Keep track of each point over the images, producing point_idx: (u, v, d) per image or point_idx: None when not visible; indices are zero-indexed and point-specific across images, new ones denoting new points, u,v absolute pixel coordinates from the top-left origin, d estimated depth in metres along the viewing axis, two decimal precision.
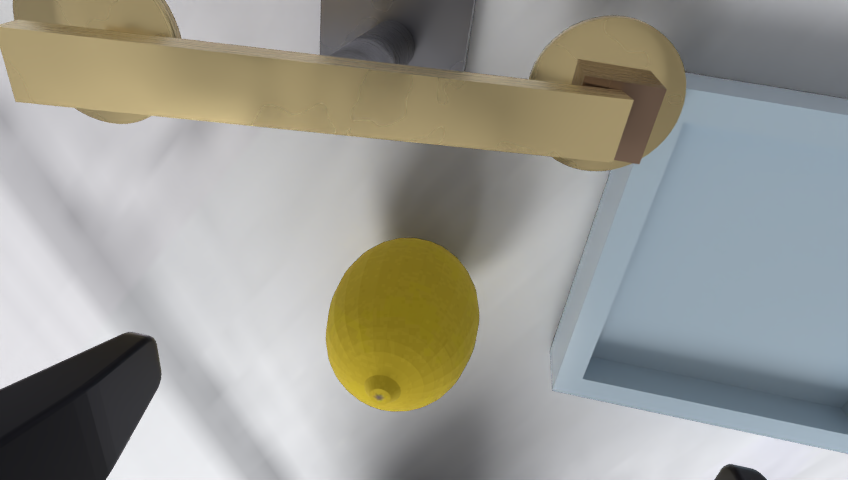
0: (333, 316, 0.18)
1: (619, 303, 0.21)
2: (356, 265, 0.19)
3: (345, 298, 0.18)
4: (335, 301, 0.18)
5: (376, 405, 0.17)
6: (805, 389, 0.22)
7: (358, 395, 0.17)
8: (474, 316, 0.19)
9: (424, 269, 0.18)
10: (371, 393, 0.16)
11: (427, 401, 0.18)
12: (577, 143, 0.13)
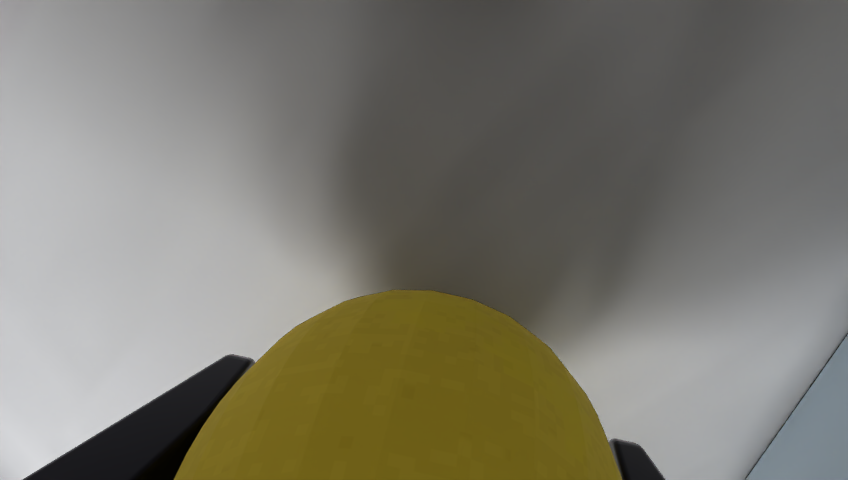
0: None
1: None
2: (242, 391, 0.06)
3: None
4: None
5: None
6: None
7: None
8: None
9: (474, 433, 0.05)
10: None
11: None
12: None
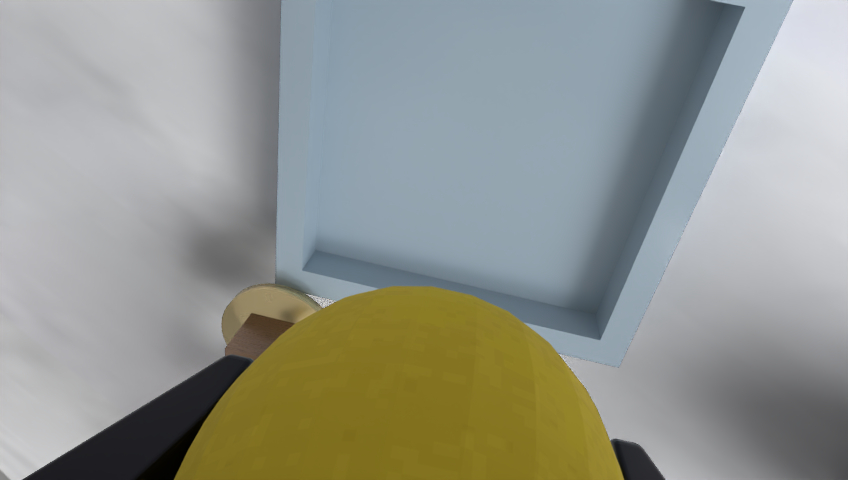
0: None
1: (521, 279, 0.20)
2: (244, 387, 0.06)
3: None
4: None
5: None
6: (677, 62, 0.15)
7: None
8: None
9: (477, 427, 0.05)
10: None
11: None
12: None
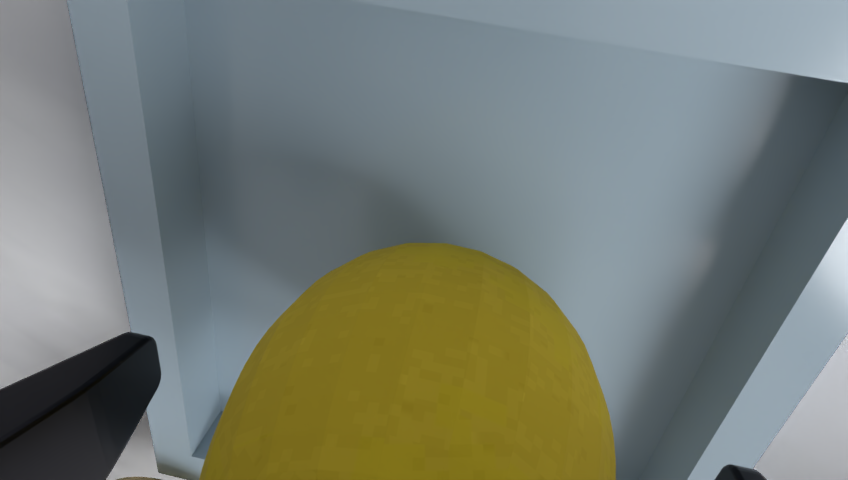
0: (204, 477, 0.06)
1: None
2: (290, 315, 0.07)
3: (240, 424, 0.06)
4: (221, 422, 0.06)
5: None
6: (765, 169, 0.09)
7: None
8: (615, 466, 0.07)
9: (480, 339, 0.06)
10: None
11: None
12: None
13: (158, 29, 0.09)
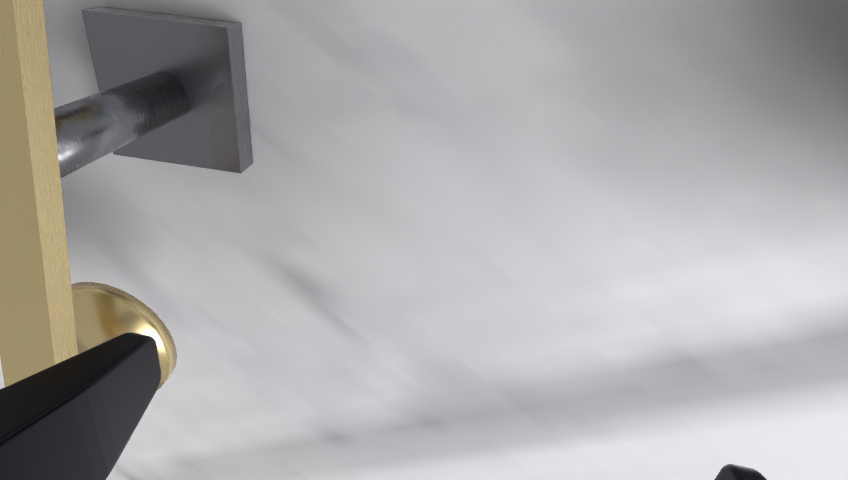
0: None
1: None
2: None
3: None
4: None
5: None
6: None
7: None
8: None
9: None
10: None
11: None
12: None
13: None
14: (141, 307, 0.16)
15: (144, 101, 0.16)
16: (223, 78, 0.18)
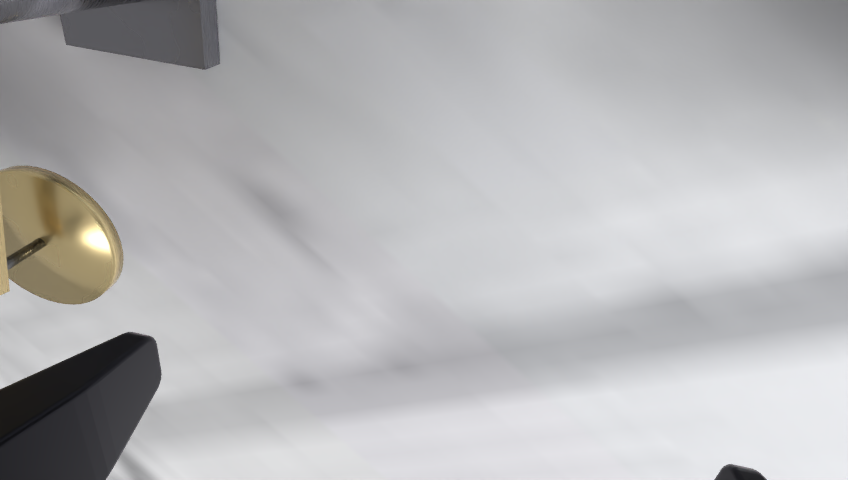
0: None
1: None
2: None
3: None
4: None
5: None
6: None
7: None
8: None
9: None
10: None
11: None
12: None
13: None
14: (83, 196, 0.15)
15: None
16: None
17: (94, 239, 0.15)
